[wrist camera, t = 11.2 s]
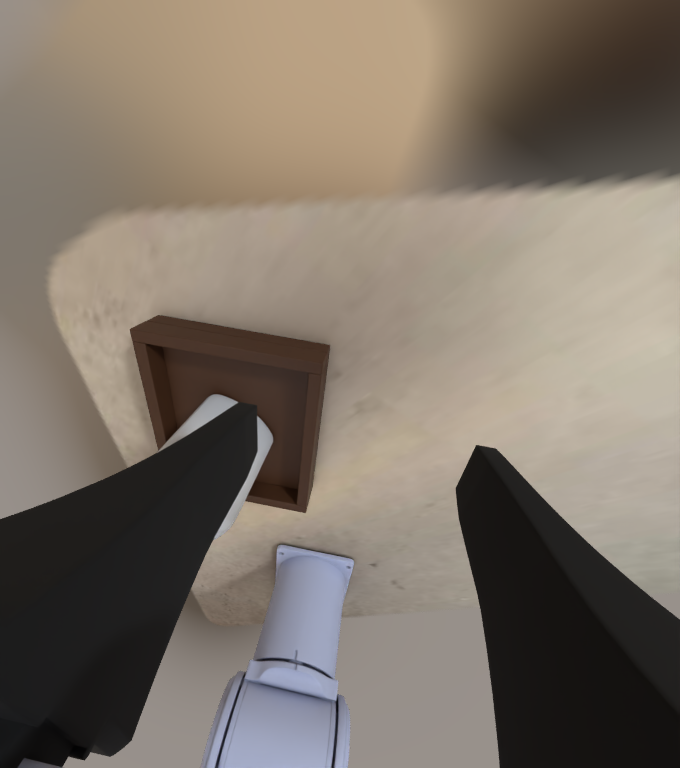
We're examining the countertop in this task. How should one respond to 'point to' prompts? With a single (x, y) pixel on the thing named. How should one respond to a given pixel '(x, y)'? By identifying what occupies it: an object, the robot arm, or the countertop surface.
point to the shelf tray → (240, 393)
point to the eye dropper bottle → (265, 439)
